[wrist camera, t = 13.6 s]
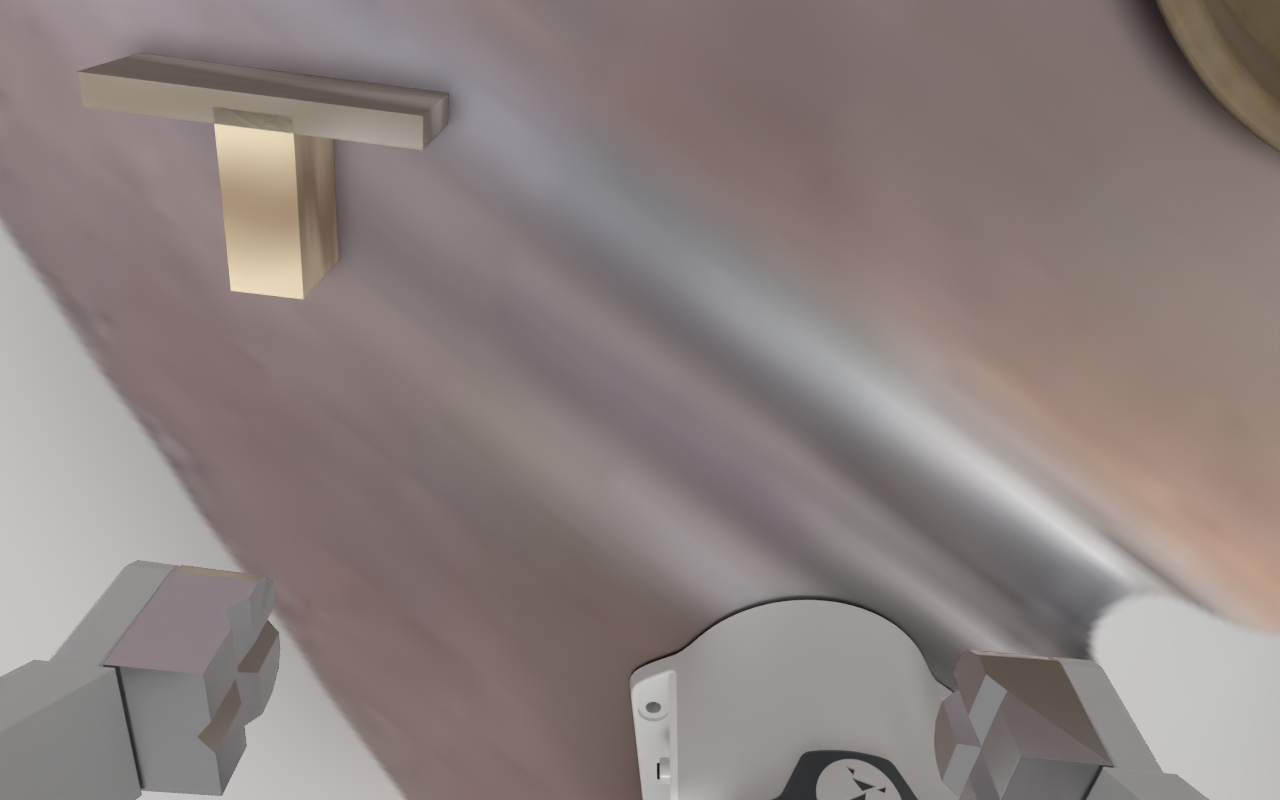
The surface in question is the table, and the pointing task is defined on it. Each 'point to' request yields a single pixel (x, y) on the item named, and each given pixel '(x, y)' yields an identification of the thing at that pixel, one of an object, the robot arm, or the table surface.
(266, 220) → the scraper
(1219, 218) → the table surface
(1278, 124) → the plant saucer
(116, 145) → the table surface
